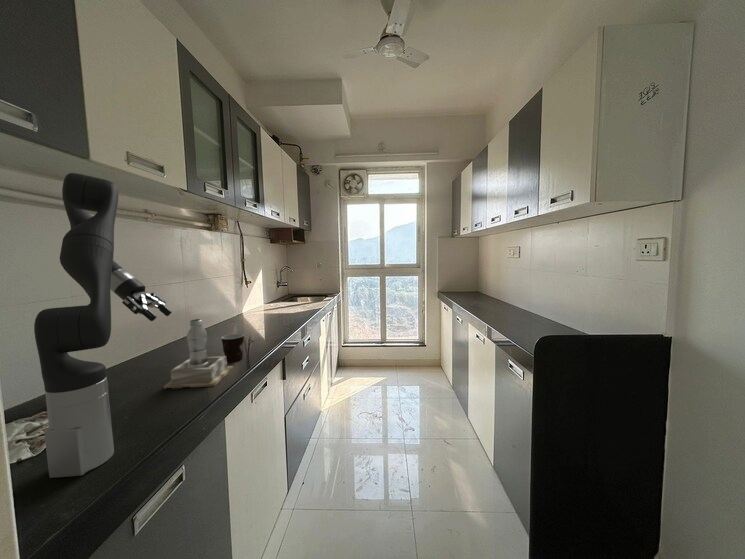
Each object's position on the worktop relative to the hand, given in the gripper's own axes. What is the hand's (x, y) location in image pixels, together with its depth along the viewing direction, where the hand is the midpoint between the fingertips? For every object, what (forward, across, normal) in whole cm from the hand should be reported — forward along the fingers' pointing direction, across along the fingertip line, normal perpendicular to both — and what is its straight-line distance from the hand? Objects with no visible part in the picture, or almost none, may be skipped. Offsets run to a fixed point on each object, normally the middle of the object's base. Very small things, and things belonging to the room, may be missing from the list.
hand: (162, 316), depth 105 cm
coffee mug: (+27, +17, +5) cm, 32 cm away
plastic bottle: (+23, 0, +8) cm, 25 cm away
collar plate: (+24, 0, +8) cm, 25 cm away
